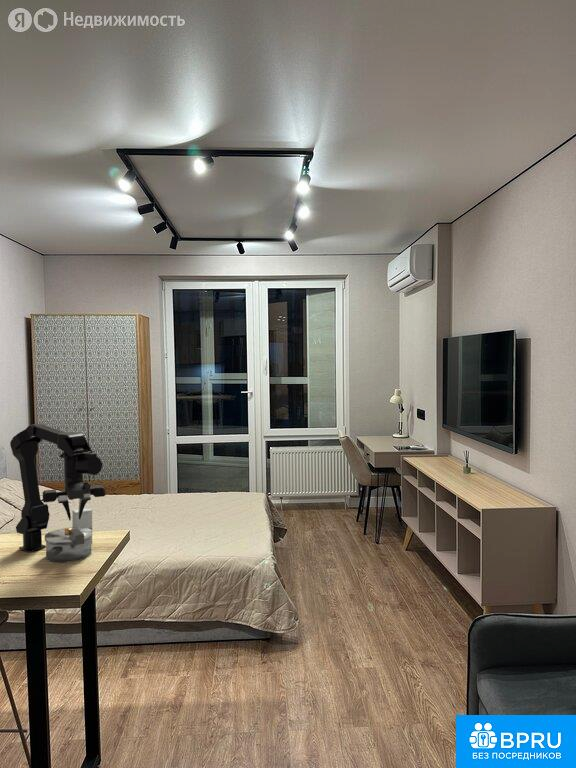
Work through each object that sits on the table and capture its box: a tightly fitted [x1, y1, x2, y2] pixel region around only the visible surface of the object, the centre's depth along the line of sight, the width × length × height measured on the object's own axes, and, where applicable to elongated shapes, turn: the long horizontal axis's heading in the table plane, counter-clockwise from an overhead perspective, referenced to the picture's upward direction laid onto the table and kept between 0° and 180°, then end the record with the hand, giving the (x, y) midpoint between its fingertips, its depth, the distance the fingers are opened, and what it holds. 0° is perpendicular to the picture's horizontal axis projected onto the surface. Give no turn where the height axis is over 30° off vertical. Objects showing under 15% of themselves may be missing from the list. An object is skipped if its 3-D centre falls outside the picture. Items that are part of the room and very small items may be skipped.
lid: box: [44, 526, 93, 545], centre depth 187 cm, size 21×15×4 cm
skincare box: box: [71, 507, 93, 545], centre depth 202 cm, size 6×4×12 cm
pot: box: [45, 537, 92, 564], centre depth 187 cm, size 20×14×6 cm
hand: (74, 519), depth 186 cm, fingers open, 3 cm apart
